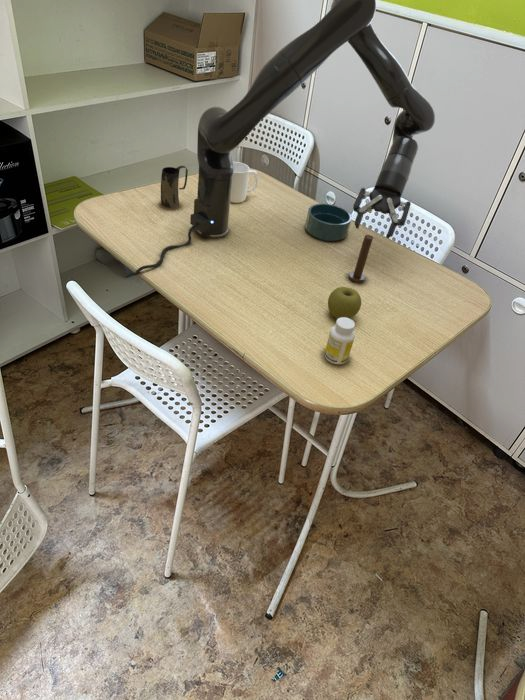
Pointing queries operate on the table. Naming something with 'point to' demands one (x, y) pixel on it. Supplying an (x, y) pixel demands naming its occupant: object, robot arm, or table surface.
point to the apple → (344, 302)
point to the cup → (241, 182)
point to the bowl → (328, 222)
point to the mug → (171, 187)
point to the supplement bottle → (340, 341)
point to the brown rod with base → (361, 261)
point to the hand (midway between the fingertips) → (372, 232)
